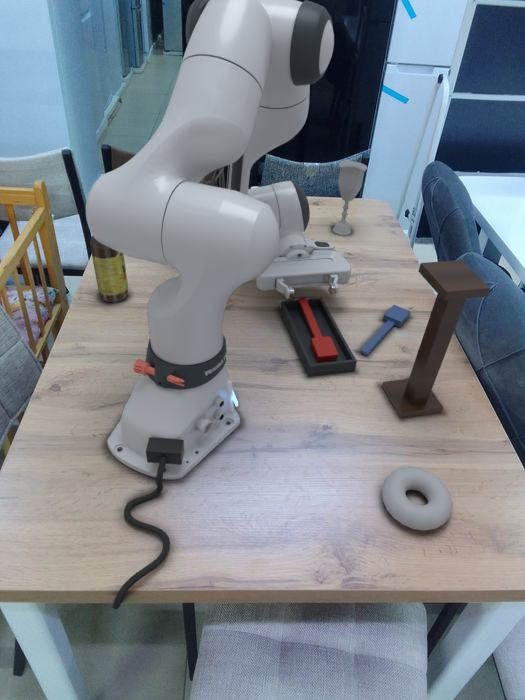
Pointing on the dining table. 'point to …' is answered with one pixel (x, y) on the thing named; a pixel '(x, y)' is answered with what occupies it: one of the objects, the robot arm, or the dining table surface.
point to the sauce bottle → (109, 272)
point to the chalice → (348, 190)
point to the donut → (413, 513)
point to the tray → (303, 337)
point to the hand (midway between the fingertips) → (313, 293)
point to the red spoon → (318, 336)
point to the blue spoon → (387, 326)
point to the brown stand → (435, 336)
